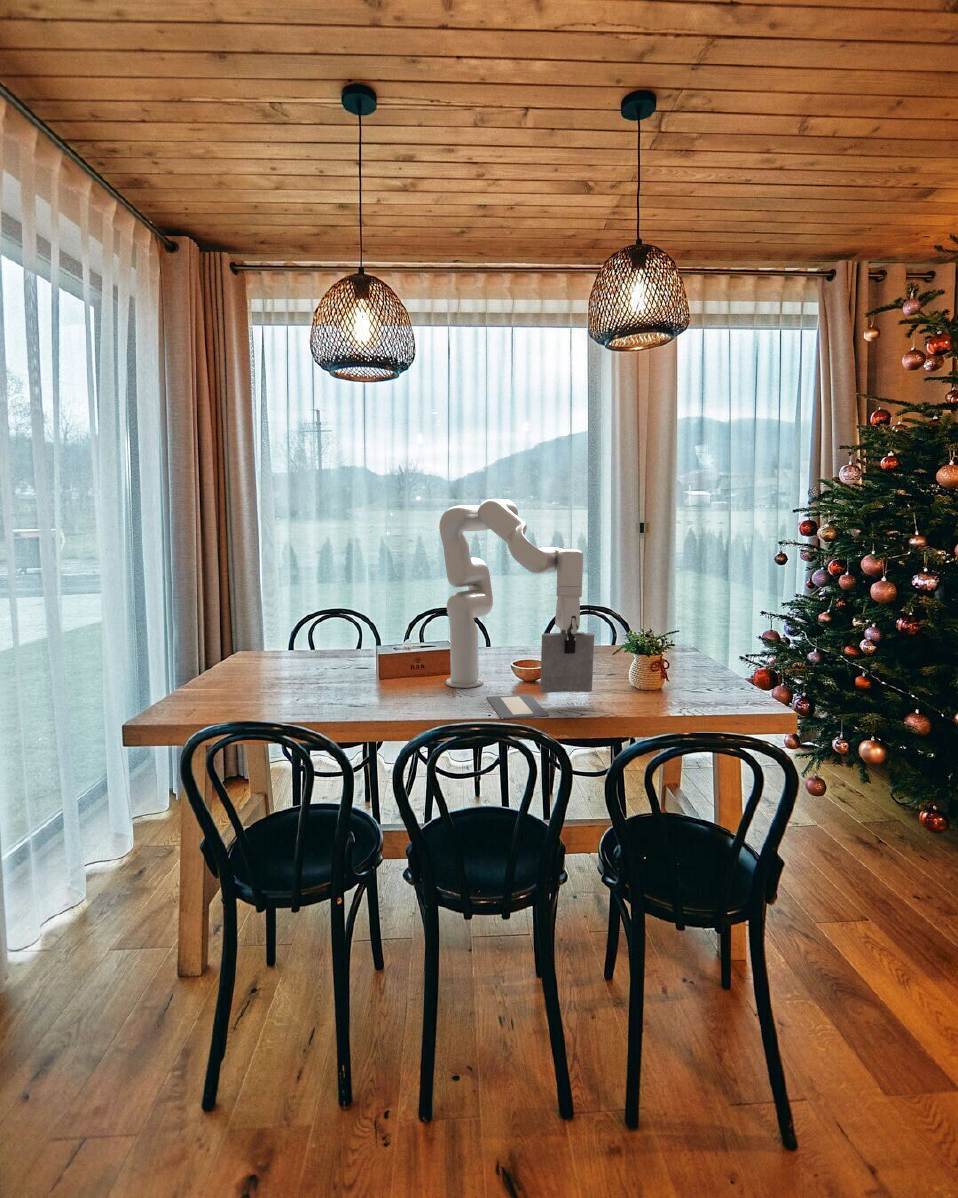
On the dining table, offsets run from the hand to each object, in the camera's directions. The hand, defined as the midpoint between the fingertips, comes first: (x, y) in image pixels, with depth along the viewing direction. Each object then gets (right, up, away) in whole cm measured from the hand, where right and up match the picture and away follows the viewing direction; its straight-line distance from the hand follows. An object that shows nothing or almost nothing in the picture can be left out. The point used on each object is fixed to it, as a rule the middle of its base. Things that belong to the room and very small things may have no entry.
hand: (567, 650), depth 207 cm
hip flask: (0, -12, +2) cm, 13 cm away
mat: (-15, -17, 0) cm, 23 cm away
